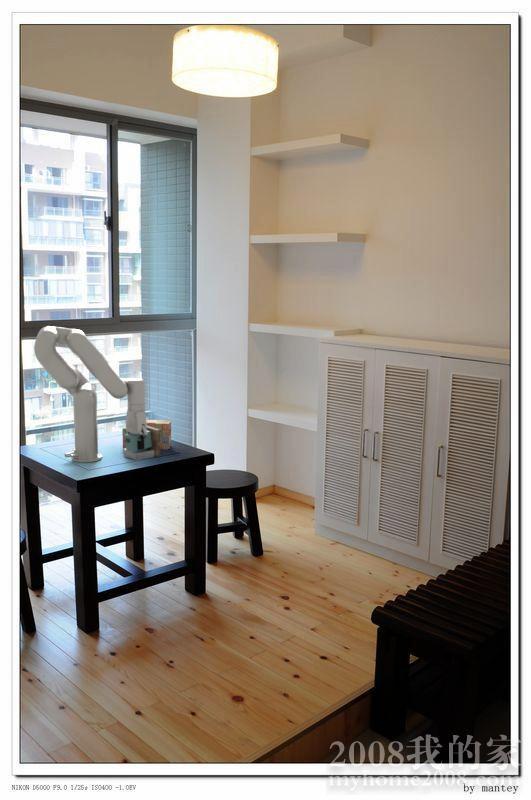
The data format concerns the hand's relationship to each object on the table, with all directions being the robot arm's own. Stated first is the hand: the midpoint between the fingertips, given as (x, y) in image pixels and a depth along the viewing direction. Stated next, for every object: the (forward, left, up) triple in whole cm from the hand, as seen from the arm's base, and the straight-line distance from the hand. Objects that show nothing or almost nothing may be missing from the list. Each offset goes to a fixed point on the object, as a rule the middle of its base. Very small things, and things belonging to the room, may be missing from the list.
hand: (137, 447), depth 326 cm
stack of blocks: (+12, +11, -4) cm, 17 cm away
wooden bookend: (+2, 0, -4) cm, 5 cm away
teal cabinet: (+1, 0, -1) cm, 1 cm away
